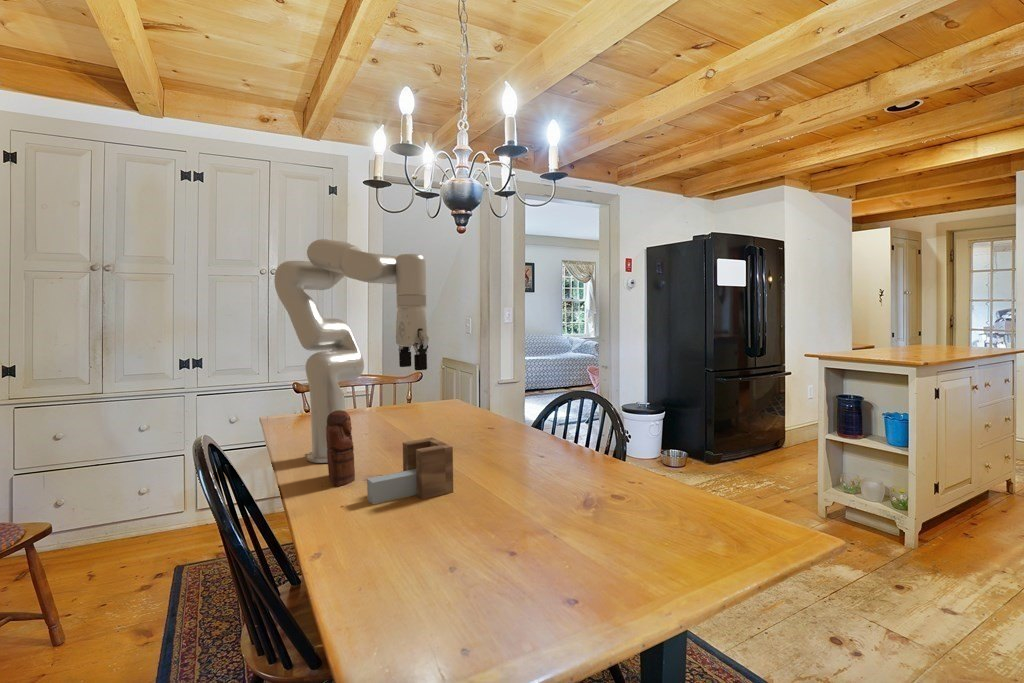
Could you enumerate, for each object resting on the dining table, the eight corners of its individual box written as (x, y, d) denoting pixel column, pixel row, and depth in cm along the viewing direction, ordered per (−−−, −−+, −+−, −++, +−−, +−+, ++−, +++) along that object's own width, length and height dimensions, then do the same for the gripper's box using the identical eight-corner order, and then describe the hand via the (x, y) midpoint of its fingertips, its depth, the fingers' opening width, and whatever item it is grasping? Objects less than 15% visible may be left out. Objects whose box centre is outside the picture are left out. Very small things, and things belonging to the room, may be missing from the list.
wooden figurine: (357, 484, 129) (355, 413, 128) (330, 488, 126) (328, 415, 125) (351, 471, 140) (349, 405, 139) (326, 474, 137) (324, 407, 136)
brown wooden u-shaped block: (403, 486, 127) (402, 442, 127) (433, 479, 132) (432, 437, 131) (422, 499, 118) (421, 452, 118) (453, 492, 123) (452, 446, 122)
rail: (367, 499, 118) (366, 474, 118) (425, 486, 127) (425, 462, 126) (373, 504, 115) (372, 478, 115) (432, 490, 124) (431, 466, 123)
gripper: (385, 303, 138) (386, 366, 139) (411, 302, 124) (413, 372, 125) (411, 303, 142) (412, 364, 143) (439, 302, 128) (440, 370, 129)
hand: (412, 368), depth 134 cm, fingers open, 9 cm apart
